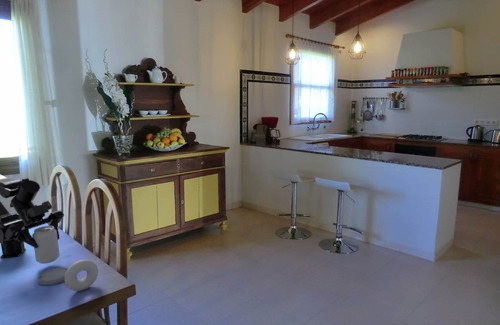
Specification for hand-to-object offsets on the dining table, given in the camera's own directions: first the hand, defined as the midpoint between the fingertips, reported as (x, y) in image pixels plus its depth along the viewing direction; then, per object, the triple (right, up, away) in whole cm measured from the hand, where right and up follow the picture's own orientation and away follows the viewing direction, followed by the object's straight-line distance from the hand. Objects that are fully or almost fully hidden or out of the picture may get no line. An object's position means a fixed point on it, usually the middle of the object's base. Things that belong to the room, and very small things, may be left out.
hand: (48, 243), depth 122 cm
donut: (+19, -12, -13) cm, 26 cm away
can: (-1, -7, +2) cm, 7 cm away
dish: (+5, -10, -5) cm, 13 cm away
